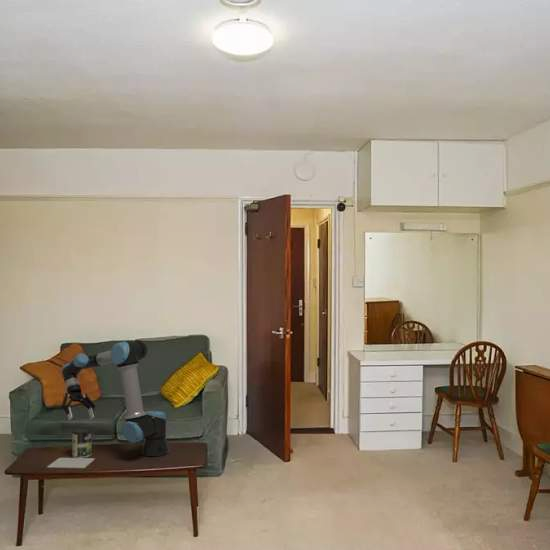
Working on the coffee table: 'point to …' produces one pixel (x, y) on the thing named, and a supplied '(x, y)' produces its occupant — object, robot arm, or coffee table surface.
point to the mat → (71, 463)
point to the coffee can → (81, 442)
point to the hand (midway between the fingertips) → (81, 418)
